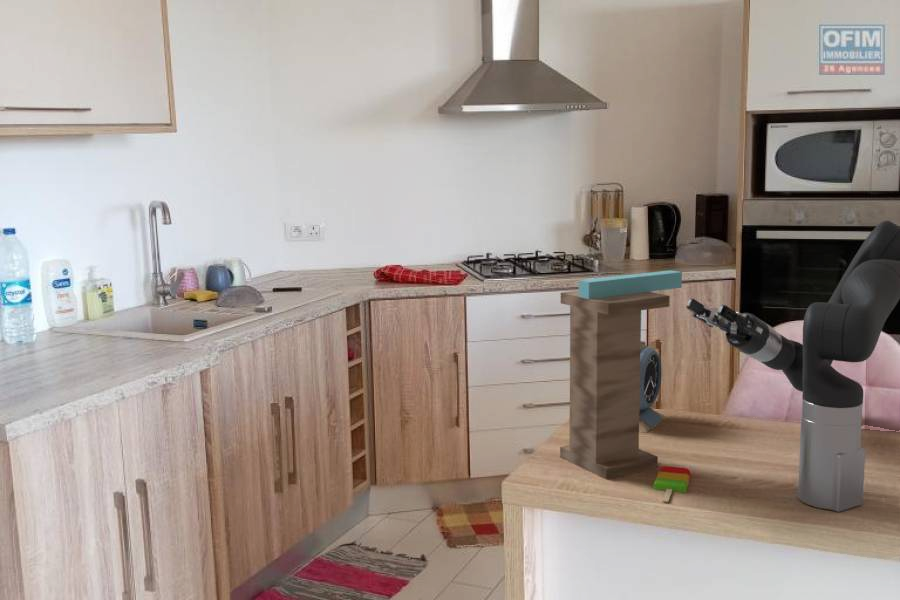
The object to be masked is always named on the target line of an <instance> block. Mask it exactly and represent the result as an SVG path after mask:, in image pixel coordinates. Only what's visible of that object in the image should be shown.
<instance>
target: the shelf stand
mask: <svg viewBox="0 0 900 600" xmlns="http://www.w3.org/2000/svg"><path fill="white" fill-rule="evenodd" d="M560 304H563V305H566V306H569V311H570V312H569V313H570V314H569V318H570V319H569V444H568V445H562V446H560V447H559V457H560V458H561V459H562V460H566V461H567V462H570V463H572V464H574V465H576V466H577V467H580V468H582V469H585V470H586V471H588V472H590V473H593V474H595V475H597V476H598V477H601V478H603V479H605V480H609V479H612V478H616V477H617V478H618V477H622V476H625V475H630V474H633V473H638V472H642V471H647V470H651V469H654V468H659V467H658V466H659V465H658V463H659V462H658V460H659V459H658V458H659V457H658V456H657V455H655V454H653V453H650V452H649V451H646V450H643V449H641V448H640V447H639V446H640V445H639V444H640V443H639V442H640V432H639V404H640V347H641V341H642V340H641V339H642V332H641V329H642V311H648V310H655V309H662V308H669V307H670V295H668V294H664V293H663V294H662V293H658V292H654V291H651V292H642V293H634V294H626V295H618V296H609V297H601V298H593V299H586V298H582V297H579V290H573V291H572V290H571V291H564V292H563V291H562V292H560Z"/></svg>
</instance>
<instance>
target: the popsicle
mask: <svg viewBox="0 0 900 600" xmlns="http://www.w3.org/2000/svg"><path fill="white" fill-rule="evenodd" d="M691 476H692V475H691V470H690V468H687V467H679V466H668V465H663V466H661V467H660V468H659V470H658V472H657V474H656V477H655V479H654V482H653V490H658V491H664V496H663V498H662V502H663V503H669V501H670V499H671V496H672V492H674V493H684V494H686V493H687V490H688V487H689V483H690V480H691Z"/></svg>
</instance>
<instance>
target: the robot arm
mask: <svg viewBox="0 0 900 600" xmlns="http://www.w3.org/2000/svg"><path fill="white" fill-rule="evenodd" d="M899 301H900V225H897V224H896V223H895V222H893V221H890V220H884V221H882V222H880V223H879V224H878V225H876V227H874V229H873V230H872V231H871V232H870V233H869V234H868V236H867V237H866V238H865V240H864V241H863V243H862V244H861V245H860V248H859V249H858V251H857V253H856V254H855V255H854V257H853V259H852V260H851V262H850V263H849V265H848V267H847V269H846V270H845V271H844V273H843V275H842V277H841V279H840V281H839V283H838V284H837V285H836V287H835V290H834V291H833V293H832V295H831V297H830V298H829V300H828V301H827V302H819V301H817V302H813V303H811V304H809V306H808V307H807V309H806V311H805V314H804V317H803V323H802V343H801V342H799V341H797V340H796V341H795V340H792V339H788V338H787V337H785V336H783V334H781V333H779V332H777V330H776V329H774V327H773V326H771V325H769V324H768V323H766V322H765V321H764V320H762V319H760V318H759V317H757V316H756V315H754V313H753V314H752V313H750V312H743V313H741V312H740V311H735V310H734V309H732V308H730V307H729V306H728V305H726V304H721V305H720V306H719V308H716V307H713V308H710V307H709V306H706V305H705V304H702V303H701V302H699V301H698V300H696V299H695V298H689V299H688V302H687V303H686V309H687V310H689V311H690V312H692V315H691V316H692V317H693V318H695V319H697V320H698V321H700V322H702V323H704V324H705V325H707V326H709V327H710V328H717V329H718V331H721V332H723V333H725V338H726V340H727V343H728V344H729V345H730V346H731V347H733V348H735V349H737V350H738V351H739V352H742V353H743V354H745V355H746V356H748V357H749V358H751V359H754V360H756V361H758V362H760V363H762V364H763V365H765V366H766V367H768V368H770V369H772V370H776V371H782V373H783V374H784V375H785V377H786V378H787V379H788V381H789V382H790V384H791V385H792V387H793V388H794V389H795V390H796V391H799V392H802V398H801V416H800V437H799V441H800V442H799V456H798V457H799V459H798V482H797V498H798V499H799V501H801V502H802V503H804V504H805V505H809V506H812V507H815V508H817V509H823V510H824V509H825V510H831V511H834V512H843V511H846V510H849V509H852V508H856V507H859V506H862V505H863V502H864V501H863V499H864V485H865V483H864V480H865V467H866V465H865V464H866V450H865V448H862V447H861V440H862V439H861V438H862V419H863V406H864V405H863V404H864V388H863V386H862V385H861V383H859V381H857V380H854V379H852V378H851V377H850V378H849V377H848V376H846V375H844V374H843V373H841V372H839V371H838V370H837V369H835V368H834V367H833V366H832V364H833V362H834V361H838V362H846V363H862V362H865V361H867V360H868V359H869V358H870V357H871V356H872V354H873V352H874V351H875V349H876V347H877V343H878V341H879V339H880V335H881V334H882V330H883V328H884V325H885V323H886V321H887V319H888V318H889V316H890V314H891V313H892V311H893V310H894V309H895V307H896V306H897V304H898V303H899ZM716 313H717V314H716Z"/></svg>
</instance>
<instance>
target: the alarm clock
mask: <svg viewBox="0 0 900 600" xmlns="http://www.w3.org/2000/svg"><path fill="white" fill-rule="evenodd" d="M661 362H662V361H661V358H660V356H659V353H658V352H657V351H656V350H655V349H654V348H652V347H649V346H648V345H646V341H644V340H641V347H640V404H639V431H642V432H641V433H645V432H647V433H648V431H649V430H650V429H651V430H652V429H654V428H655V427H656V426H657V425H659V424H660V423H661V422H662V420H663V419H664V418H665V419H666V418H667V416H666V415H664V414H662V413H660V412H657V411H655V409H653V407H652V406H653V405H654V404H655V402H656V400H657V398H658V395H659V393H660V390H661V389H660V388H661V384H662V373H663V372H662V363H661ZM665 419H664V420H665ZM664 420H663V421H664ZM659 422H660V423H659ZM658 423H659V424H658ZM655 425H656V426H655ZM654 426H655V427H654ZM653 427H654V428H653ZM651 430H650V431H651ZM643 431H644V432H643ZM650 431H649V432H650Z"/></svg>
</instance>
